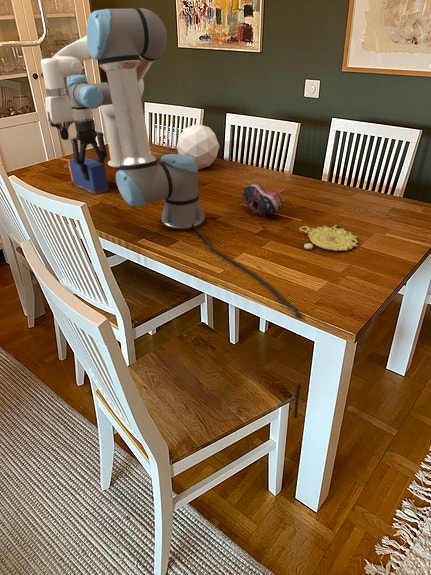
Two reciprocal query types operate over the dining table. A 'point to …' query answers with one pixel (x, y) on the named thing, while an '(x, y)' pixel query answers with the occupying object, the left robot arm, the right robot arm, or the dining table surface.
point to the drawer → (69, 168)
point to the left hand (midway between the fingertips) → (65, 139)
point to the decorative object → (330, 238)
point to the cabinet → (90, 176)
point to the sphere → (198, 145)
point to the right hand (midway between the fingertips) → (94, 177)
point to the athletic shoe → (261, 200)
